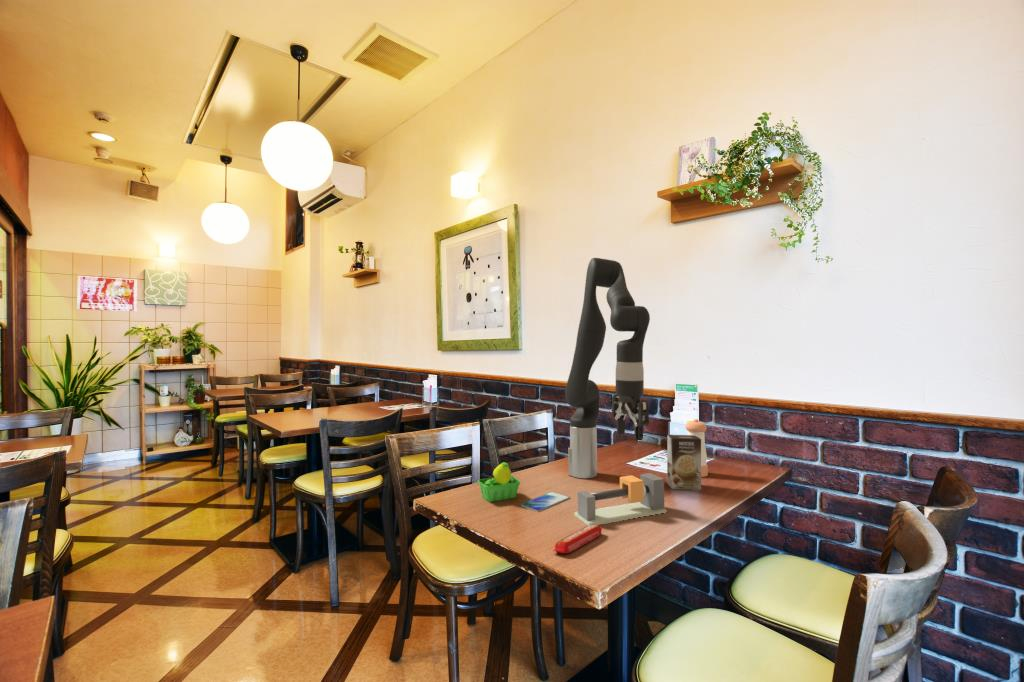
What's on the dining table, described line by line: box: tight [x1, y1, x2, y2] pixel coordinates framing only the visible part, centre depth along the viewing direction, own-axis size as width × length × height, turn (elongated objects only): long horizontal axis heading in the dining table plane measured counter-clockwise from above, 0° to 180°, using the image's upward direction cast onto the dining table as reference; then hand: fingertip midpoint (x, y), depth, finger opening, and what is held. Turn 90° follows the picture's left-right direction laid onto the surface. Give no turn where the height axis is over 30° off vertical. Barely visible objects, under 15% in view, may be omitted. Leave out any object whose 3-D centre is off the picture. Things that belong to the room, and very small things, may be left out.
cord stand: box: [573, 472, 668, 526], centre depth 124 cm, size 24×8×9 cm, turn 110°
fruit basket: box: [477, 462, 521, 503], centre depth 138 cm, size 11×9×11 cm
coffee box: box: [666, 434, 702, 491], centre depth 146 cm, size 9×6×16 cm
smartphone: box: [520, 491, 571, 513], centre depth 134 cm, size 7×1×15 cm
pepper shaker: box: [685, 418, 709, 478], centre depth 159 cm, size 7×7×19 cm
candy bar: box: [553, 525, 603, 554], centre depth 106 cm, size 16×4×3 cm, turn 136°
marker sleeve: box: [619, 475, 644, 503], centre depth 125 cm, size 4×5×6 cm
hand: (629, 436), depth 126 cm, fingers open, 8 cm apart
